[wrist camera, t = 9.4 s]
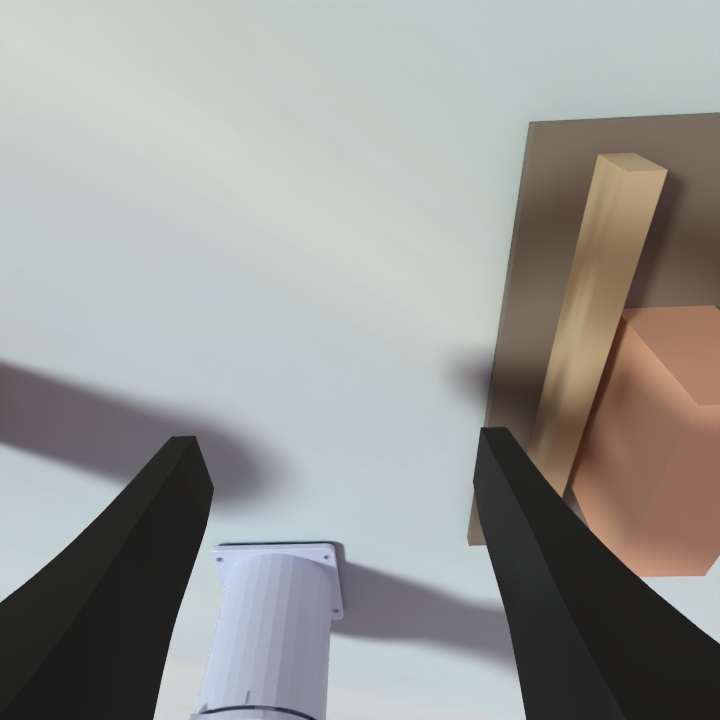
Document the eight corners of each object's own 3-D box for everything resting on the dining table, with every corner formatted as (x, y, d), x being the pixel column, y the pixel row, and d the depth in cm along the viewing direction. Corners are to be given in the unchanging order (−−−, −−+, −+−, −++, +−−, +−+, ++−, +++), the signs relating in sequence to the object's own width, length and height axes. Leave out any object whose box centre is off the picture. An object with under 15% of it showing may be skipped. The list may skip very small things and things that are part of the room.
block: (615, 308, 20) (698, 405, 15) (714, 305, 19) (830, 402, 15) (564, 470, 25) (611, 577, 21) (639, 468, 25) (704, 575, 21)
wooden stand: (675, 532, 30) (700, 574, 27) (467, 536, 30) (475, 579, 28) (927, 102, 16) (1022, 116, 13) (529, 121, 16) (556, 140, 14)
